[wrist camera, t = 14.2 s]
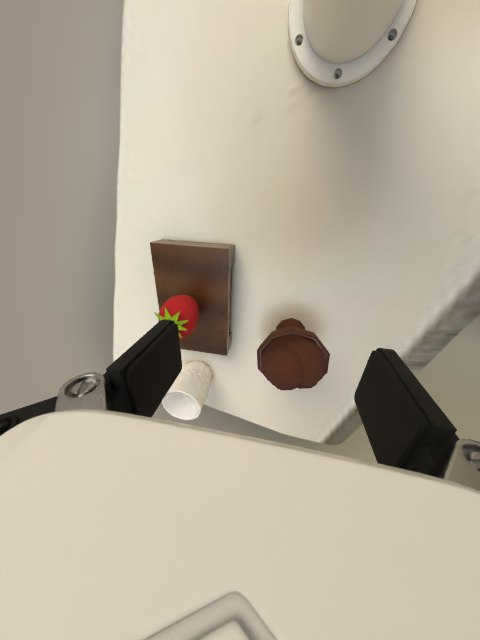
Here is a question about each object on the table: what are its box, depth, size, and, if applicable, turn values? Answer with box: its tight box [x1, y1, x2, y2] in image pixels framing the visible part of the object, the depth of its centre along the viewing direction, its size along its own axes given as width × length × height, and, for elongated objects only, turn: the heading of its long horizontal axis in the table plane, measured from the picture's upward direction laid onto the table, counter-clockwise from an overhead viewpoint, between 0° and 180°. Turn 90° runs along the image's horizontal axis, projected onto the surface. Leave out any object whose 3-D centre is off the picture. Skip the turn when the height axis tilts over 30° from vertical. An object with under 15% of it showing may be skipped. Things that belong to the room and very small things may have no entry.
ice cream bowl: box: [257, 318, 330, 390], centre depth 35 cm, size 11×11×15 cm
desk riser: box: [150, 239, 234, 356], centre depth 40 cm, size 20×13×4 cm, turn 177°
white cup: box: [162, 361, 212, 420], centre depth 46 cm, size 8×8×10 cm
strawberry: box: [154, 295, 199, 339], centre depth 34 cm, size 6×8×10 cm
